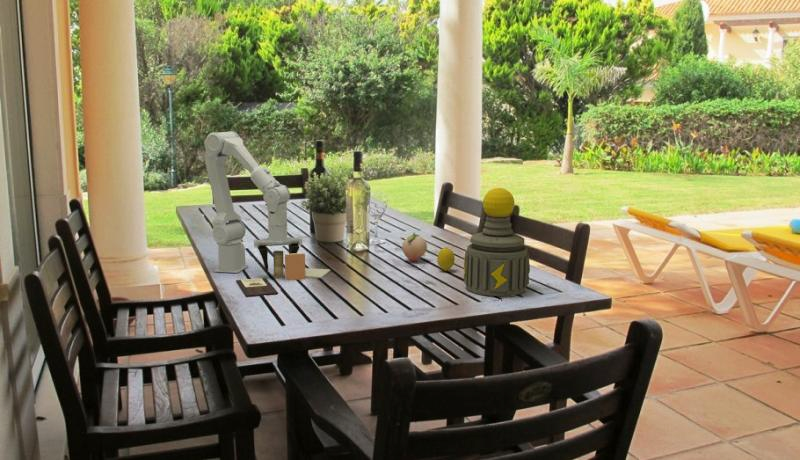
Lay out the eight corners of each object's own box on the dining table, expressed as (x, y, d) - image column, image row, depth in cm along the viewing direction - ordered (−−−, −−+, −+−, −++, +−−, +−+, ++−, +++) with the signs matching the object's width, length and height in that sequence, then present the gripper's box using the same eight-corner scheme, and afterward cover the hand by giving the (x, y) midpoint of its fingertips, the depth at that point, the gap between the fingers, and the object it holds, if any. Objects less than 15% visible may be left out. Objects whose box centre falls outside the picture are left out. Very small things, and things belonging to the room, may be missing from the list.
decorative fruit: (424, 265, 246) (424, 235, 244) (400, 263, 248) (400, 234, 246) (428, 259, 255) (429, 230, 253) (405, 257, 257) (405, 229, 255)
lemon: (445, 268, 242) (445, 244, 240) (457, 271, 238) (458, 247, 236) (433, 271, 238) (433, 246, 236) (446, 274, 234) (446, 249, 233)
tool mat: (303, 269, 239) (303, 268, 239) (330, 270, 237) (330, 269, 237) (293, 276, 229) (293, 275, 229) (321, 278, 228) (321, 276, 228)
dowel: (275, 275, 231) (275, 250, 229) (285, 275, 230) (284, 250, 229) (272, 277, 228) (271, 252, 226) (281, 278, 227) (281, 252, 226)
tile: (285, 279, 226) (284, 254, 224) (304, 278, 228) (304, 252, 226) (286, 280, 224) (285, 254, 223) (305, 279, 226) (305, 253, 225)
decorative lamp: (462, 280, 226) (464, 183, 221) (523, 281, 226) (527, 184, 220) (465, 297, 208) (468, 191, 202) (532, 298, 207) (537, 192, 202)
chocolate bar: (246, 295, 206) (236, 280, 222) (246, 298, 206) (236, 283, 222) (278, 292, 209) (265, 277, 225) (278, 296, 209) (265, 280, 226)
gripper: (256, 228, 220) (257, 273, 222) (303, 226, 225) (304, 269, 227) (252, 224, 226) (253, 267, 229) (298, 222, 231) (299, 264, 234)
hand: (278, 268), depth 228 cm, fingers open, 7 cm apart
